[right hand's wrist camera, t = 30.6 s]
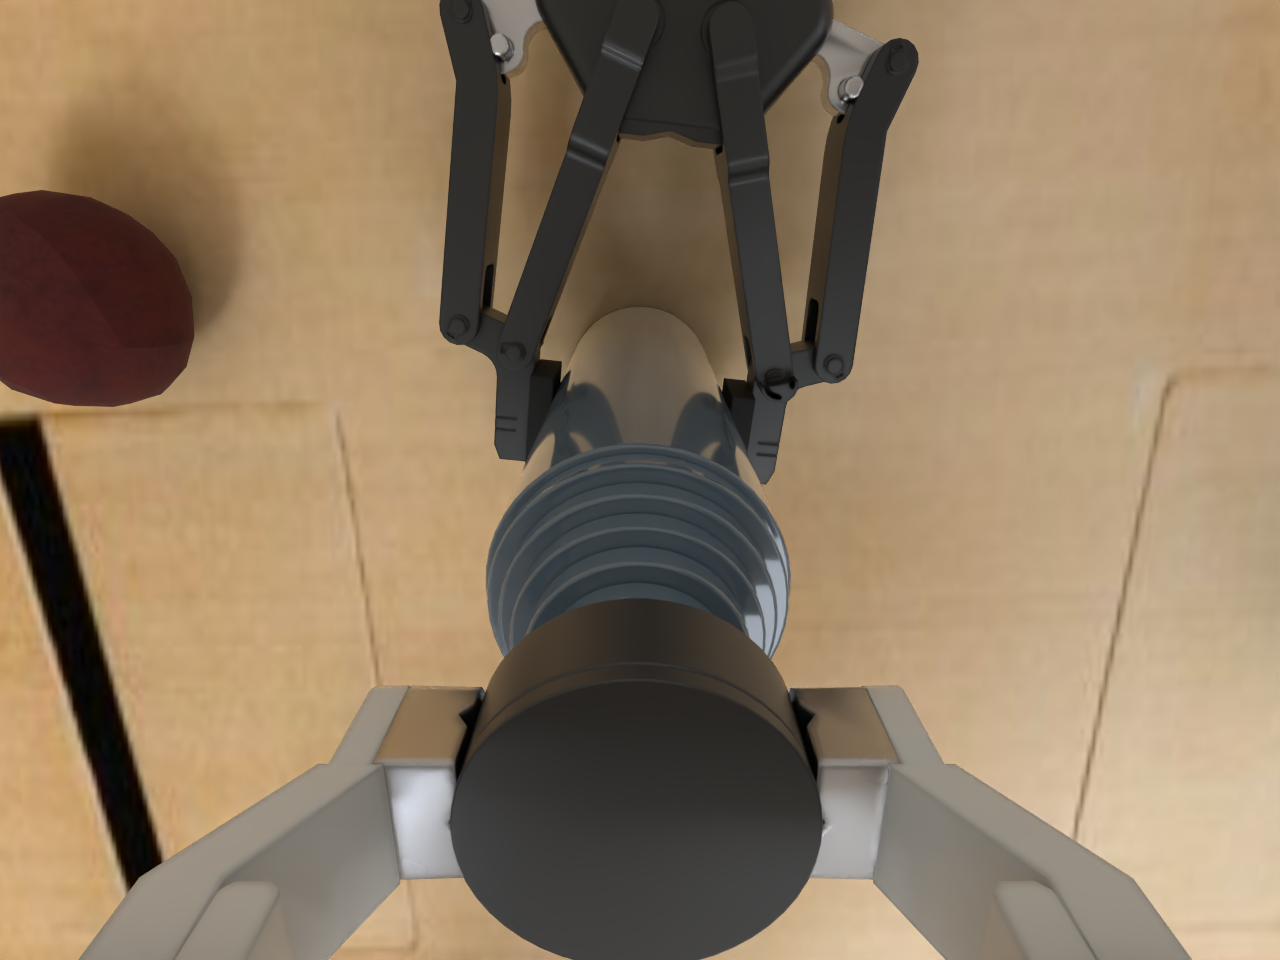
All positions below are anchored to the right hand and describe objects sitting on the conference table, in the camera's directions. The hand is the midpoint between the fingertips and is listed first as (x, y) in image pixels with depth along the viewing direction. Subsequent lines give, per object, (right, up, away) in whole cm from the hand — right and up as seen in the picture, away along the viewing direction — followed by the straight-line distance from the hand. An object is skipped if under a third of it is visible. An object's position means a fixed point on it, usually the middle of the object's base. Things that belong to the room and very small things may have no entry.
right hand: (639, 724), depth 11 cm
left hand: (0, +1, +17) cm, 17 cm away
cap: (0, -1, -2) cm, 2 cm away
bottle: (0, +8, +21) cm, 22 cm away
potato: (-20, +11, +20) cm, 30 cm away
